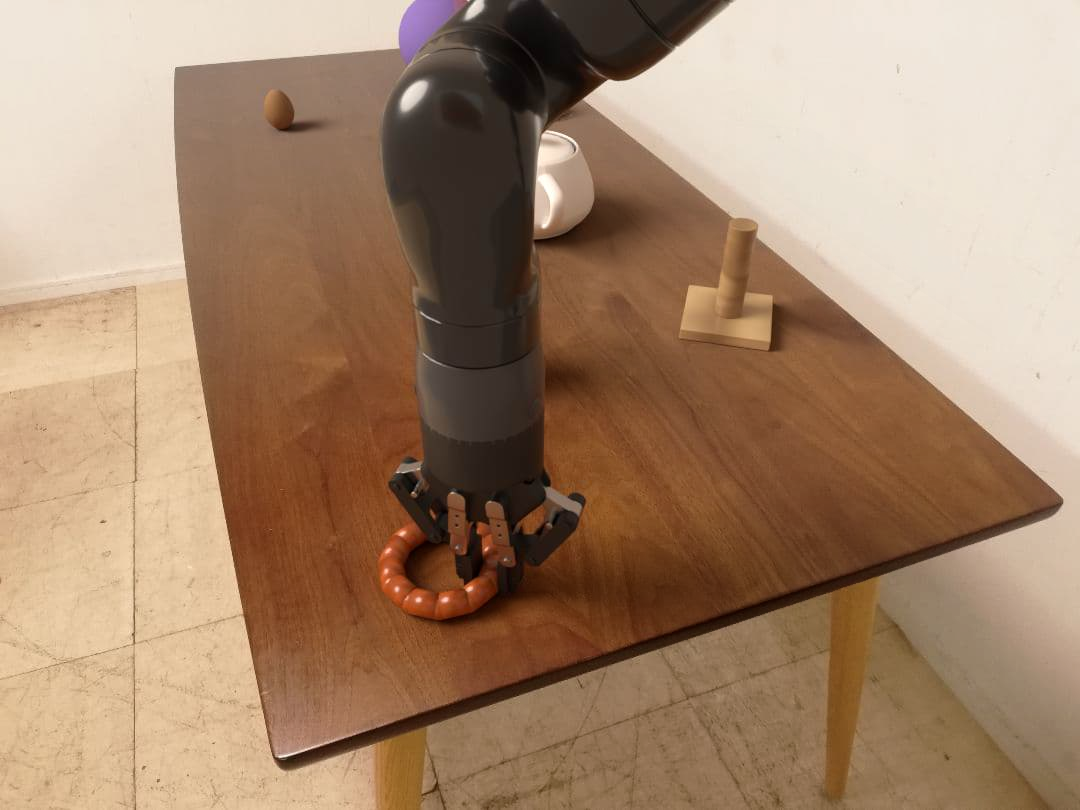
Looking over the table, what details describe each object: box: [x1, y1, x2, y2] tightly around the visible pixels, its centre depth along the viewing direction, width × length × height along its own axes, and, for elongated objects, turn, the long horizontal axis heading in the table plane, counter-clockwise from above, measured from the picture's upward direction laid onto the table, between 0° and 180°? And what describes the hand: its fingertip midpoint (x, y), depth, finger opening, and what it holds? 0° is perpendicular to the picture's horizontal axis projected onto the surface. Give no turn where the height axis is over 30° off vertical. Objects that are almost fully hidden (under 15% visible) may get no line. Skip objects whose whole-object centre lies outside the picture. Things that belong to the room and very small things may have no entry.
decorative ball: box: [398, 0, 469, 68], centre depth 139 cm, size 15×15×15 cm
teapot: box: [534, 129, 595, 240], centre depth 101 cm, size 25×16×12 cm, turn 16°
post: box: [678, 217, 774, 352], centre depth 83 cm, size 9×9×11 cm
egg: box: [263, 88, 295, 130], centre depth 126 cm, size 4×4×6 cm
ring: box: [377, 514, 499, 621], centre depth 60 cm, size 9×9×2 cm
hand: (490, 582), depth 59 cm, fingers closed on ring, 2 cm apart
